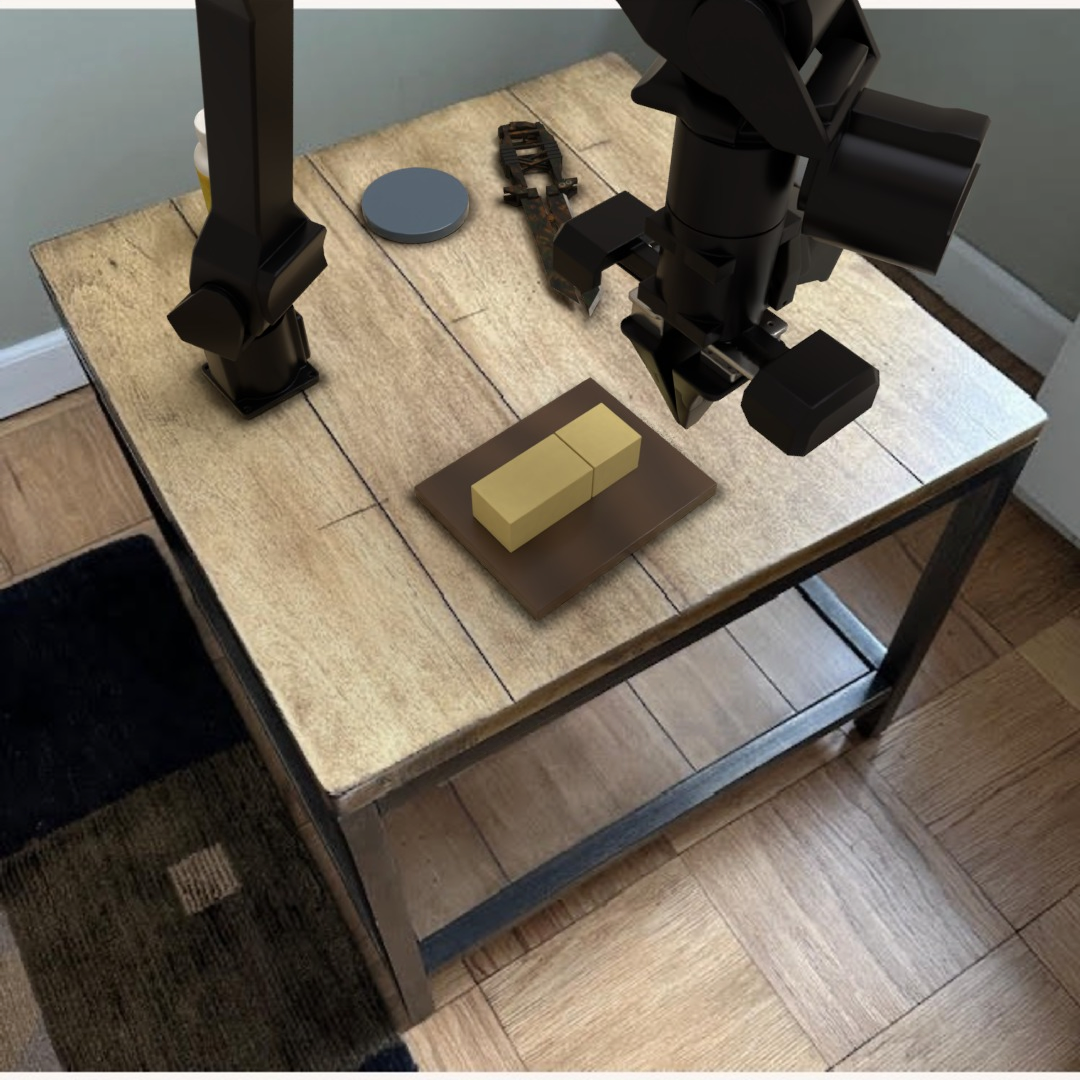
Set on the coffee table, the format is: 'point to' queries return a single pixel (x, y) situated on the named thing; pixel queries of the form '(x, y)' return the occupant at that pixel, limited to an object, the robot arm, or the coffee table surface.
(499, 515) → the butter stick
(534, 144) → the knife
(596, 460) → the butter pat
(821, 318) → the coffee table surface
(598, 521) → the board
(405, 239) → the plate
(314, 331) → the coffee table surface
